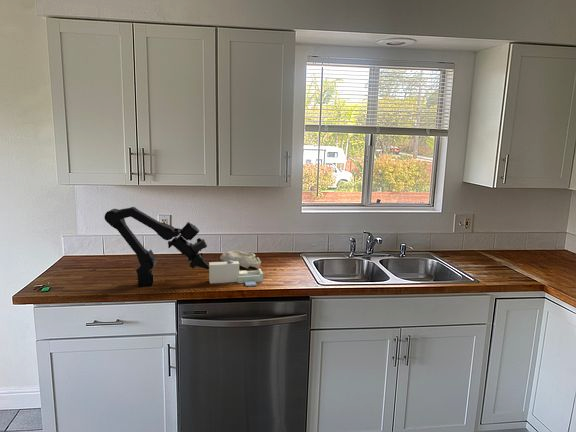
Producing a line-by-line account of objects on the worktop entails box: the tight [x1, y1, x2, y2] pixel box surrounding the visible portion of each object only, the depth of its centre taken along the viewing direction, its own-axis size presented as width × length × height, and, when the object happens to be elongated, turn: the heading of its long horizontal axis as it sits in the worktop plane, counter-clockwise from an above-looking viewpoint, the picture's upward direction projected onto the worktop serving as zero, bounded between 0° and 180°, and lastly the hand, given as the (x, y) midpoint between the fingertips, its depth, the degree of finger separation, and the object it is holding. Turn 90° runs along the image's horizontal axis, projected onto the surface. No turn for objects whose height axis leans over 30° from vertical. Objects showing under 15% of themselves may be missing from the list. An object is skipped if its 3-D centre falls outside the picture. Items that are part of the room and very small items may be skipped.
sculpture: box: [219, 249, 262, 269], centre depth 229 cm, size 24×11×15 cm
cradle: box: [237, 267, 264, 288], centre depth 205 cm, size 12×20×4 cm, turn 13°
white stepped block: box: [208, 260, 248, 284], centre depth 202 cm, size 18×4×10 cm, turn 103°
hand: (208, 268), depth 200 cm, fingers closed, pressing on white stepped block
